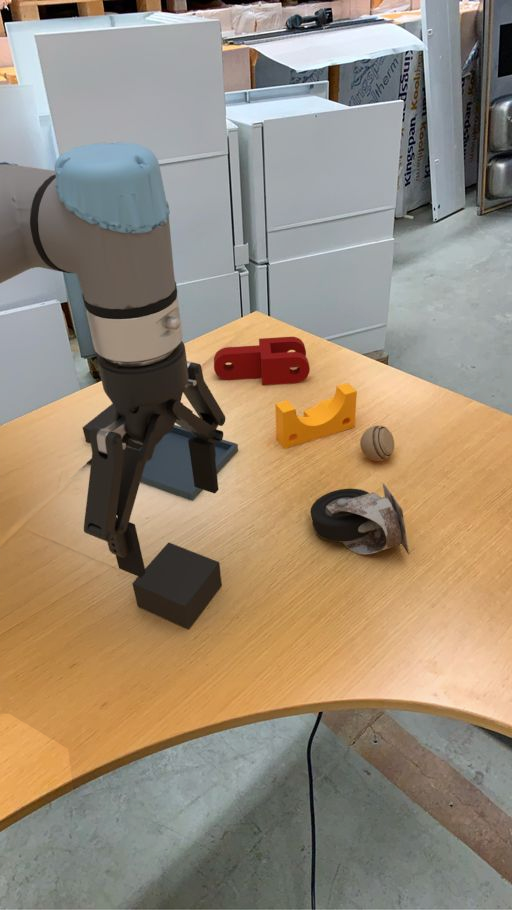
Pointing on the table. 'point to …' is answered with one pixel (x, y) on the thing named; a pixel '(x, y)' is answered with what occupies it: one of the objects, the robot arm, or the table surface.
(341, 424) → the pipe clamp
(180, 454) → the dark blue tray
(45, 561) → the table surface
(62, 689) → the table surface
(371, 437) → the tan ball
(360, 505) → the caster wheel
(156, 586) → the dark rectangular block
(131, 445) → the pad
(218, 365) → the mechanical linkage
